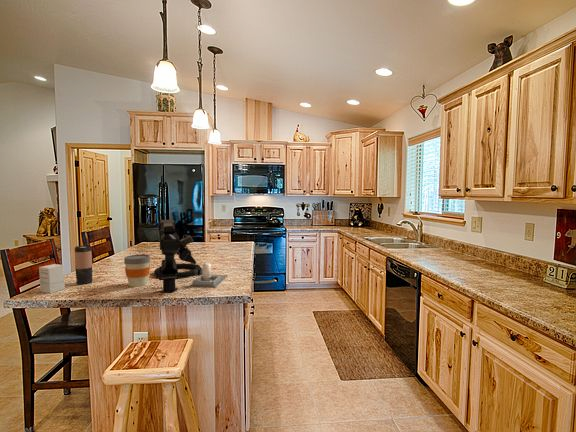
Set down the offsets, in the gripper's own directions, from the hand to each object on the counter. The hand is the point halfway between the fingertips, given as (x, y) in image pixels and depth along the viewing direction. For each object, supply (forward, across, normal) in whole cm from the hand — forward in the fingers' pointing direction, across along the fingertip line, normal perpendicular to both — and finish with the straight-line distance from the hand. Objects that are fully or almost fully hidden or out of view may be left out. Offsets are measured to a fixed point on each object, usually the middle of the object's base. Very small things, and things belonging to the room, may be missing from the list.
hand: (194, 261), depth 167 cm
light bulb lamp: (+13, 0, +4) cm, 14 cm away
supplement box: (-38, +19, +56) cm, 70 cm away
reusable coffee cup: (-10, +14, +29) cm, 33 cm away
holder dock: (+15, +4, +3) cm, 16 cm away
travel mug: (-29, +28, +47) cm, 62 cm away
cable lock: (+6, +29, +13) cm, 32 cm away
